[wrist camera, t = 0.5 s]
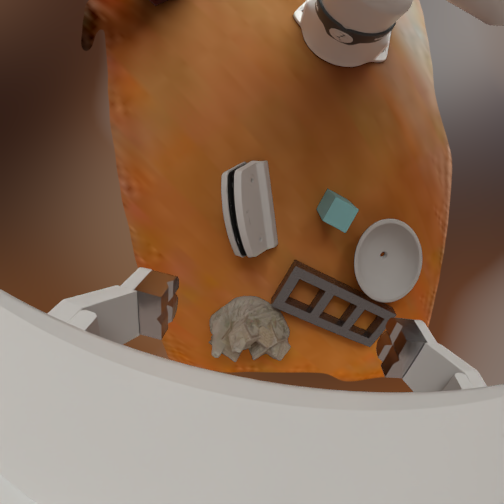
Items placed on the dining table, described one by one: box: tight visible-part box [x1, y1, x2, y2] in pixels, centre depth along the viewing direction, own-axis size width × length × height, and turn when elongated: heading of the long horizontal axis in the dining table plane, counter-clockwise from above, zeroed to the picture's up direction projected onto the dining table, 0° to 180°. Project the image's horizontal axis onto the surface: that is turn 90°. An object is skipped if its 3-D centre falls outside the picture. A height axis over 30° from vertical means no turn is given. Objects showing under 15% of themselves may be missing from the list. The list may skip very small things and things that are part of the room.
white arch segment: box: [221, 161, 278, 258], centre depth 48 cm, size 17×5×10 cm, turn 8°
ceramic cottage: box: [209, 296, 291, 362], centre depth 55 cm, size 16×16×15 cm
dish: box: [354, 219, 422, 302], centre depth 50 cm, size 18×14×5 cm
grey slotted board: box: [271, 260, 396, 347], centre depth 56 cm, size 10×26×3 cm, turn 65°
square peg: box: [317, 189, 359, 233], centre depth 46 cm, size 4×4×8 cm
